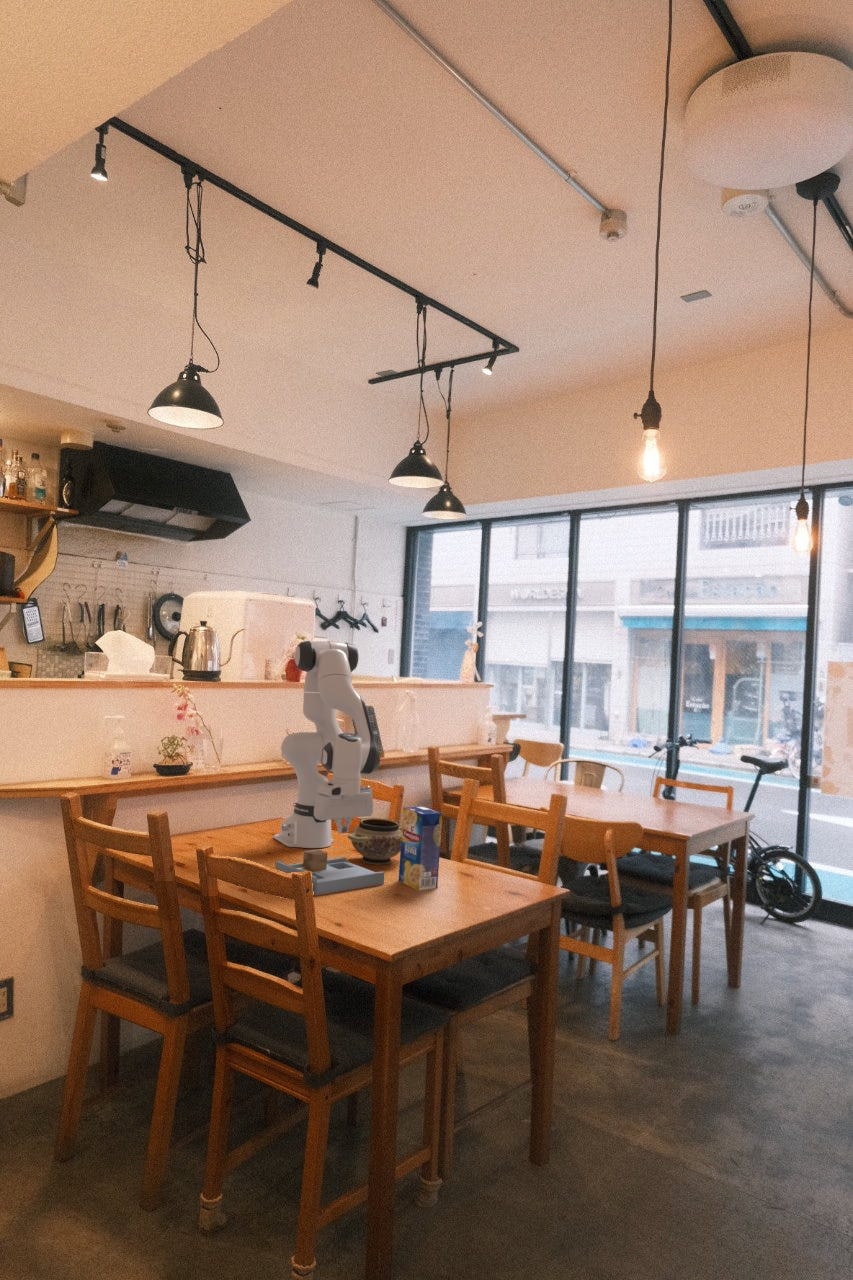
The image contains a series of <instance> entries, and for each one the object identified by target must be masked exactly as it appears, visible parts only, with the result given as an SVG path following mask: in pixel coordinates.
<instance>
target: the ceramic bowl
mask: <svg viewBox="0 0 853 1280" xmlns="http://www.w3.org/2000/svg"><path fill="white" fill-rule="evenodd" d="M401 835H402V826H400V823H398V822H397V821H395V820H391V819H387V818H379V817H365V818H362V819H360V820H359V824H358V825H357V826H356V827H355V828H353V829H352V831H351V833H349V834H348V835H347V838H348V840H350V841H351V843H352V846H353V848H354V850H356V852H357V853H359V855H361V856H362V859H361V860H362V862H364V863H366V864H371V865H387V864H390V863H391V861H392V860H391V859H392V858H393V857H396V856H397V855H398V854H399V853H400V850H401Z"/></svg>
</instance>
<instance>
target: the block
mask: <svg viewBox="0 0 853 1280" xmlns="http://www.w3.org/2000/svg"><path fill="white" fill-rule="evenodd" d="M327 859H328V852H327V851H323V850H320V849H319V848H314V849H310V850H304V851H303V857H302V860H303V861H302V863H303V868H304V869H307V870H309V871H312V872H315V871H321V870H326V868H327Z"/></svg>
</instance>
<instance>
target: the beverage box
mask: <svg viewBox="0 0 853 1280" xmlns="http://www.w3.org/2000/svg"><path fill="white" fill-rule="evenodd" d="M442 818H443V813H442V812H439V811H438V810H437V811H436V810H433V809H431V808H428V807H425V806H408V807H402V821H401V823H402V825H401V827H402V835H401V850H400V852H399V853H400V854H399V866H398V867H399V869H398V882H400V883H401V884H405V885H406V886H408V887H410V888H412V889H414V890H416V891H423V890H425V891H426V890H432V889H433V890H434V889H438V886H439V885H438V883H439V882H438V881H439V867H440V854H441V853H440V851H441V838H442V836H441V835H442V821H443V819H442Z"/></svg>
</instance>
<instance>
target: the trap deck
mask: <svg viewBox="0 0 853 1280" xmlns="http://www.w3.org/2000/svg"><path fill="white" fill-rule="evenodd" d="M274 868H275V869H277V870H280V871H283V872H285V873H291V872H304V871H309V870H307V869H304V868H303V862H299V863H291V864H287V863H285V862H282V861H280V860H276V861H275V867H274ZM275 869H274V870H275ZM311 873H312V883H313V891H314V895H315V896H321V895H327V894H333V893H339V892H345V891H351V890H357V889H361V888H369V887H374V886H381V885H384V884H385V883H384V882H385V872H384V871H383V870H382V871H377V872H375V871H373V870H371V869H368V868H365V867H362V866H360V865H359V864H358V865H357V864H355V863H352V862H350V861H347V857H345V856H343V857H336V858H335V857H334V858H327V868H326V870H321V871H315V872H312V871H311ZM315 896H314V897H315Z"/></svg>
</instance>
